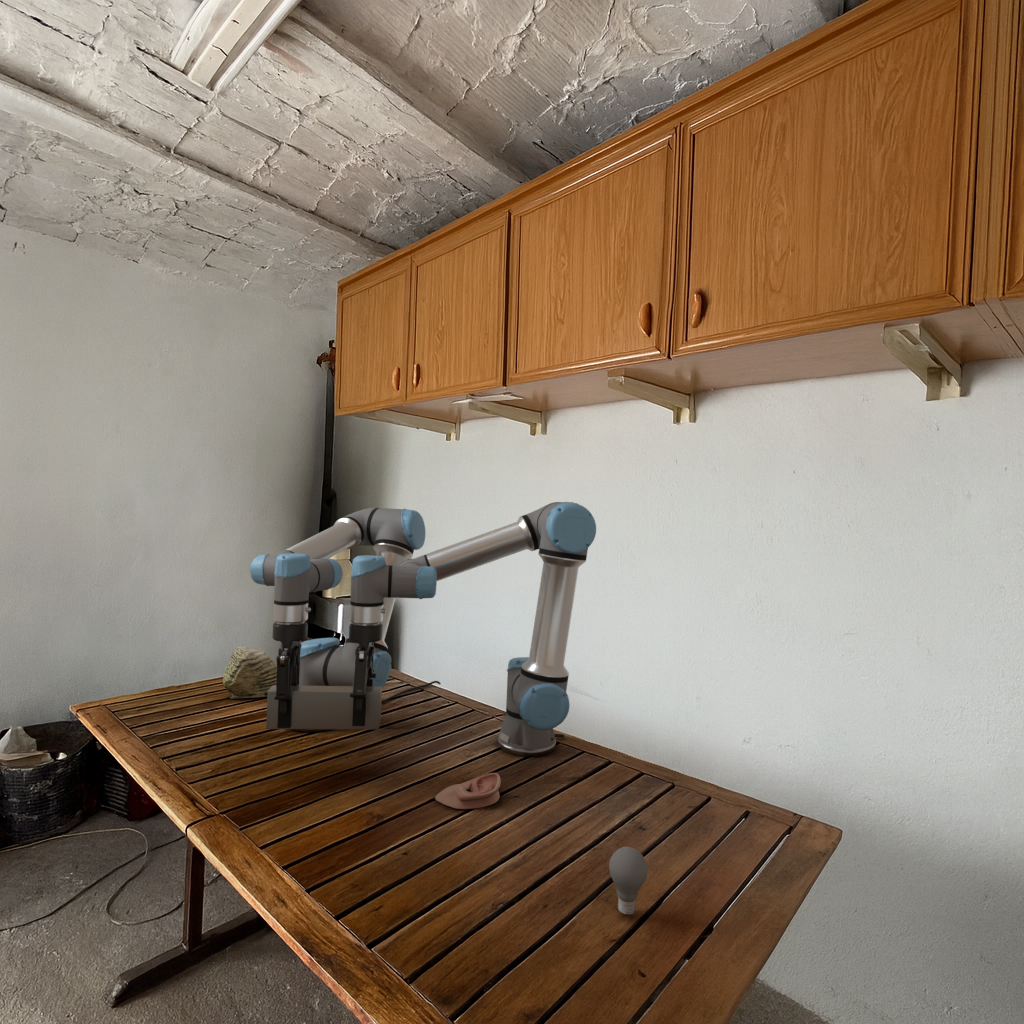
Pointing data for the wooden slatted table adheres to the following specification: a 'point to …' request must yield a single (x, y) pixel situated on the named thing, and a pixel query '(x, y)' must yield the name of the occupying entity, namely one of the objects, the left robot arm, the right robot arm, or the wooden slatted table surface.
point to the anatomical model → (472, 793)
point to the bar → (325, 708)
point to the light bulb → (627, 876)
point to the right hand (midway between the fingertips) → (362, 715)
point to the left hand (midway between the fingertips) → (286, 723)
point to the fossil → (249, 673)
